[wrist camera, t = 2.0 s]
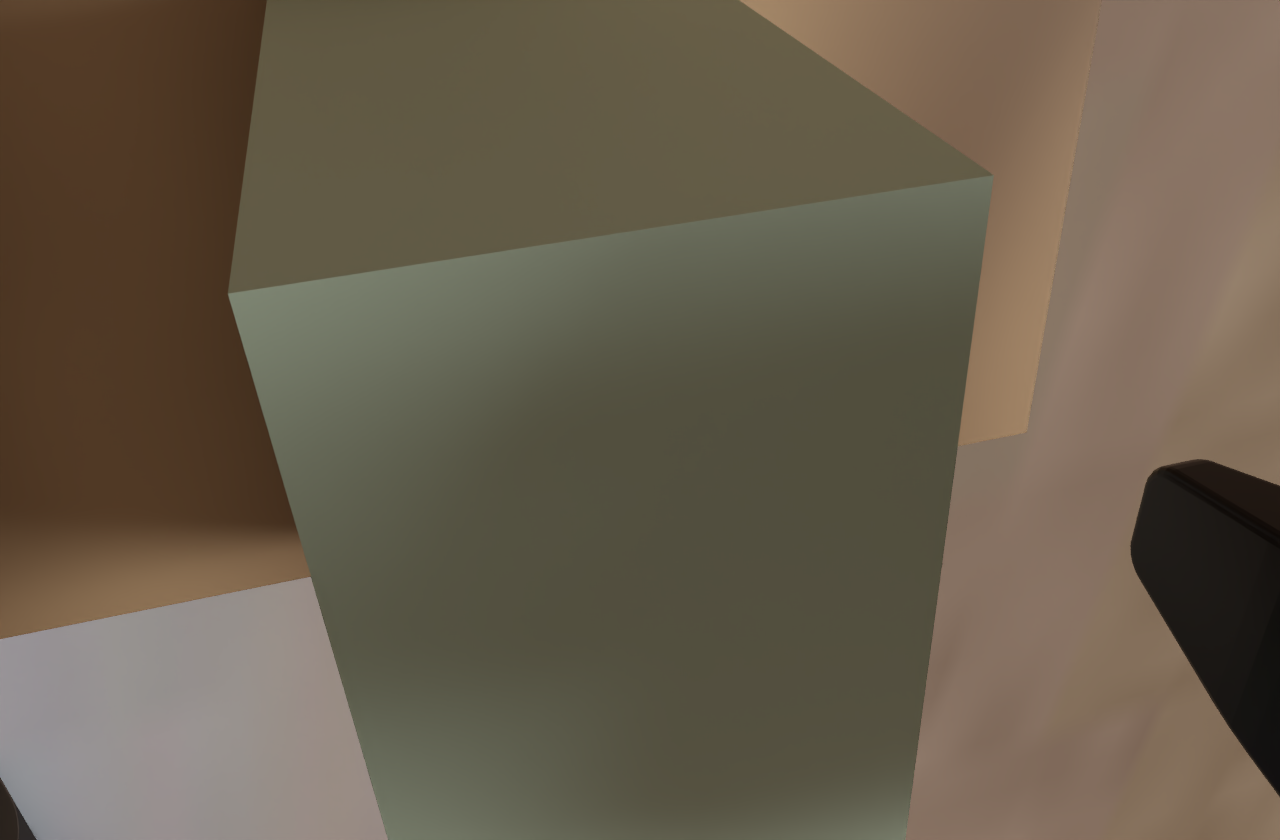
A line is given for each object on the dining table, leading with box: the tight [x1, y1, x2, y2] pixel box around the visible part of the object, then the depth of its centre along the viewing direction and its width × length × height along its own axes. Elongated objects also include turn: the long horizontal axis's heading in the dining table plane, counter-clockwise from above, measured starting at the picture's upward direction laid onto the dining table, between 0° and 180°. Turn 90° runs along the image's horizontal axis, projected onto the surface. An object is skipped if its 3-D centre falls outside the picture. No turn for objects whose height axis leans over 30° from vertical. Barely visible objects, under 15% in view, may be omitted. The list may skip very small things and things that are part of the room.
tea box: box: [228, 0, 994, 840], centre depth 10 cm, size 7×4×7 cm, turn 2°
